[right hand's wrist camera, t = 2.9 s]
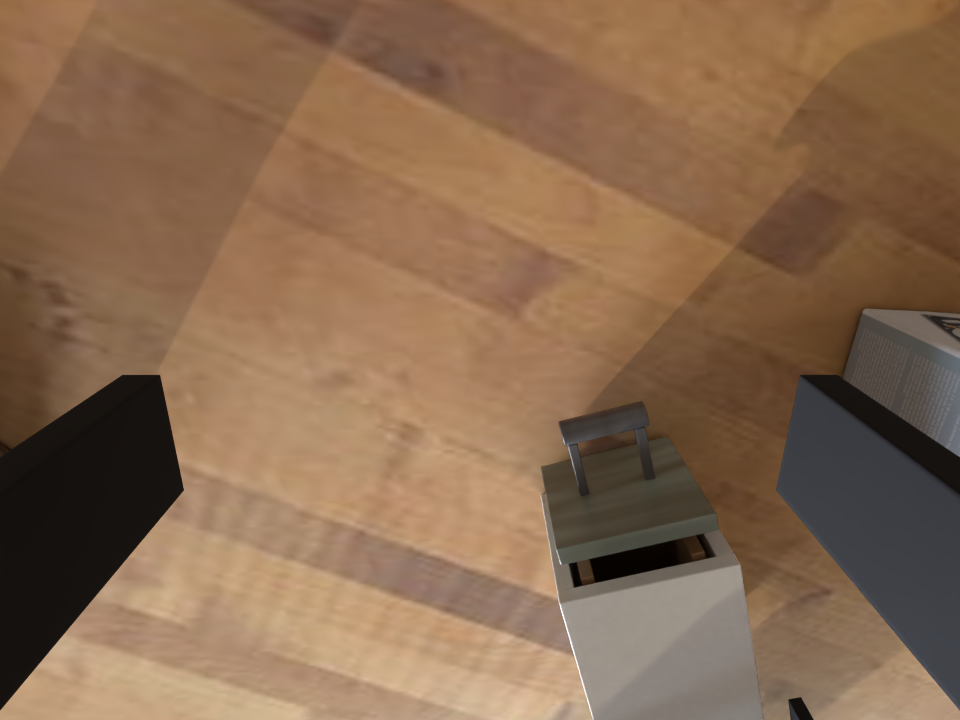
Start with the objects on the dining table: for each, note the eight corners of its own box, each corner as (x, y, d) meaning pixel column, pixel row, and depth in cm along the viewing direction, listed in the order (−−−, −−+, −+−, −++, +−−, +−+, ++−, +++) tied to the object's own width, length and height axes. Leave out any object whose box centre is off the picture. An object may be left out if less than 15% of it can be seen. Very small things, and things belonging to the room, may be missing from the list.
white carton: (540, 494, 44) (559, 603, 34) (678, 461, 43) (741, 563, 33) (585, 655, 50) (613, 791, 39) (708, 629, 49) (770, 762, 38)
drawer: (522, 401, 40) (534, 471, 32) (655, 367, 39) (703, 431, 31) (584, 625, 47) (607, 731, 39) (698, 601, 46) (747, 704, 38)
